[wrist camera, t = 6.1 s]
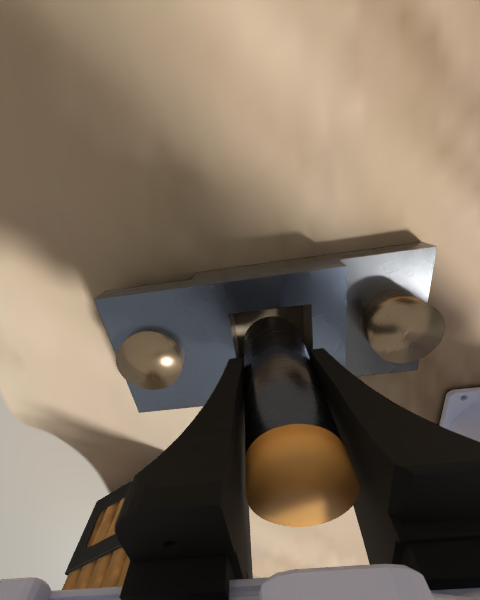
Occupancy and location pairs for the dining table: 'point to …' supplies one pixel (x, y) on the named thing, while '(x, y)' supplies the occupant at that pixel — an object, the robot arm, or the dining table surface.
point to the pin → (291, 433)
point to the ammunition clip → (100, 548)
